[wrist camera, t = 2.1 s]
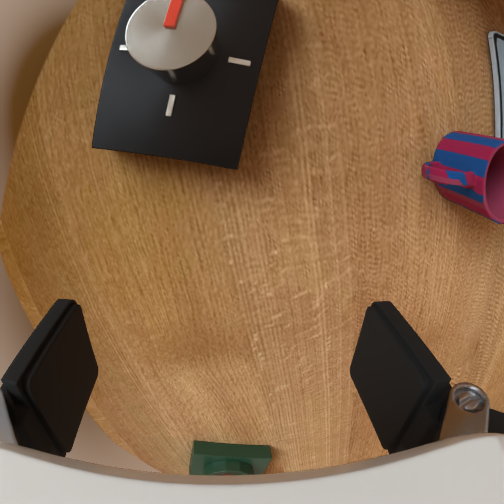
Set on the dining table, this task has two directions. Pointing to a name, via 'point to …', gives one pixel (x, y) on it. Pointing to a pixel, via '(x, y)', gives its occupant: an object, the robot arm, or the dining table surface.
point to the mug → (470, 172)
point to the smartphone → (498, 79)
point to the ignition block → (228, 459)
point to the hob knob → (174, 39)
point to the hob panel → (186, 93)
